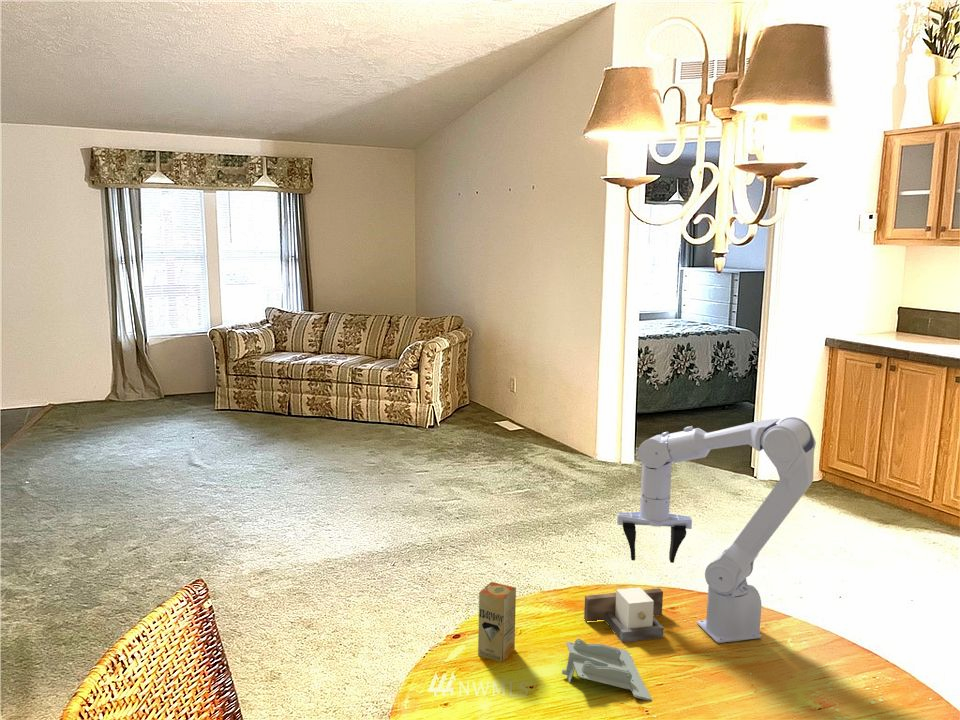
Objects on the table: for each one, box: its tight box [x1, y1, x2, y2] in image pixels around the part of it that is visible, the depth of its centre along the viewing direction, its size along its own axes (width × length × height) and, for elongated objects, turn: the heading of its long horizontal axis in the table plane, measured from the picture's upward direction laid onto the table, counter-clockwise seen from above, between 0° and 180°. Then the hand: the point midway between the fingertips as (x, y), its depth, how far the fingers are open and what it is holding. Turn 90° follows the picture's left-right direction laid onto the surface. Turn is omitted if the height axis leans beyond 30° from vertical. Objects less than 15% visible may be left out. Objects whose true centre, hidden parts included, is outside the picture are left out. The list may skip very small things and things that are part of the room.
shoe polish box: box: [477, 581, 517, 663], centre depth 139 cm, size 5×5×12 cm
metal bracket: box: [561, 638, 653, 702], centre depth 132 cm, size 14×6×15 cm
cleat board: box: [583, 587, 665, 643], centre depth 149 cm, size 16×10×5 cm, turn 103°
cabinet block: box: [615, 586, 654, 629], centre depth 148 cm, size 5×7×7 cm
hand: (652, 559), depth 156 cm, fingers open, 7 cm apart
